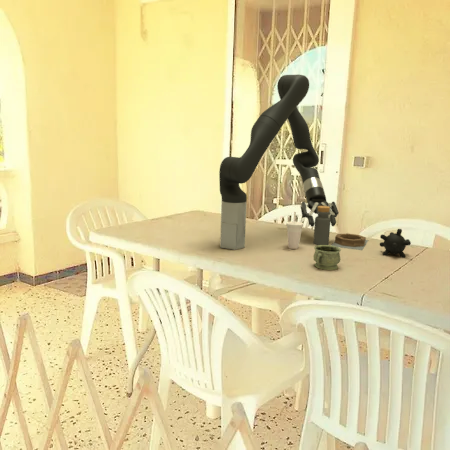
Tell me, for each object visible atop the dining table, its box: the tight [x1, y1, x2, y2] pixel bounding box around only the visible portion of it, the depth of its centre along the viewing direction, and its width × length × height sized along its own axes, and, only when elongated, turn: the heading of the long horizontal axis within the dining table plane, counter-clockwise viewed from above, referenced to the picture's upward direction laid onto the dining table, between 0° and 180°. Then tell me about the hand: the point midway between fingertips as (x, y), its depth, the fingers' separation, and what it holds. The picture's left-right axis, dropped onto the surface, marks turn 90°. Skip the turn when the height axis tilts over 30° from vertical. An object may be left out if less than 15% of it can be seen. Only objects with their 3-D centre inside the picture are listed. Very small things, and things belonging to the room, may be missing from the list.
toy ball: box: [379, 228, 412, 259], centre depth 171 cm, size 11×11×12 cm
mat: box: [330, 239, 369, 251], centre depth 187 cm, size 18×12×1 cm, turn 156°
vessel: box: [313, 244, 342, 271], centre depth 155 cm, size 12×9×6 cm
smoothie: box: [285, 211, 304, 251], centre depth 176 cm, size 6×6×14 cm
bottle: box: [312, 206, 331, 246], centre depth 183 cm, size 6×6×15 cm
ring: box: [334, 233, 367, 247], centre depth 186 cm, size 11×11×2 cm
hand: (323, 225), depth 182 cm, fingers open, 8 cm apart
